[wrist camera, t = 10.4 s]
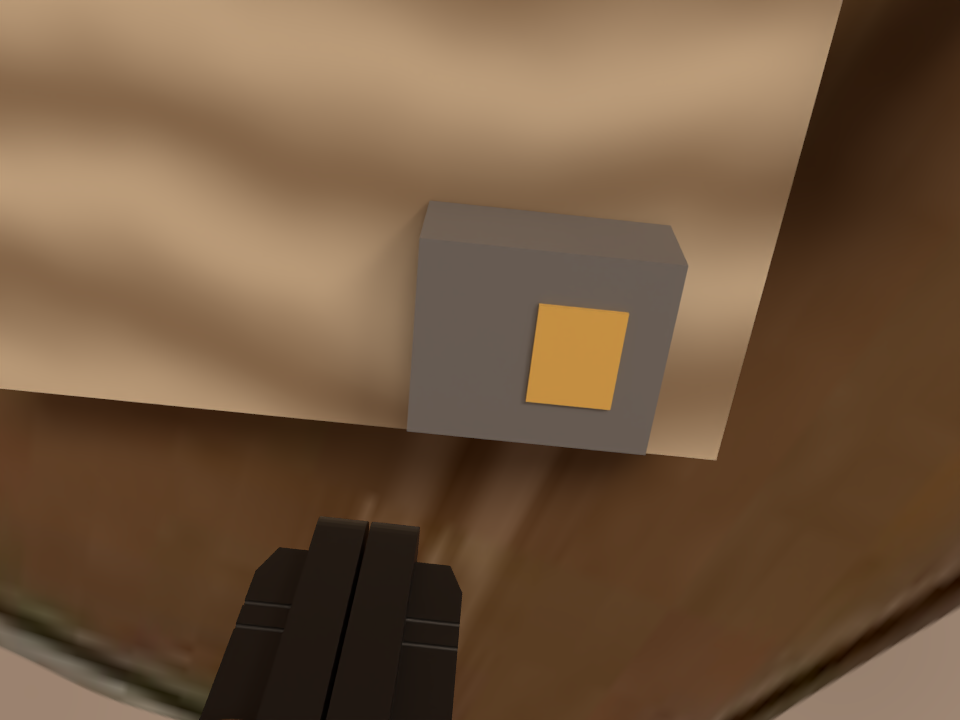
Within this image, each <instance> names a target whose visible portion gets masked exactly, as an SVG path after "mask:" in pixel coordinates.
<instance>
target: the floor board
mask: <svg viewBox="0 0 960 720" xmlns="http://www.w3.org/2000/svg"><path fill="white" fill-rule="evenodd" d="M842 1H843V0H0V389H10V390H20V391H30V392H40V393H50V394H60V395H70V396H80V397H90V398H100V399H110V400H120V401H130V402H140V403H150V404H160V405H170V406H180V407H190V408H200V409H210V410H220V411H230V412H240V413H250V414H260V415H270V416H280V417H290V418H300V419H310V420H320V421H330V422H340V423H350V424H360V425H370V426H380V427H390V428H400V429H407V420H408V405H409V389H410V374H411V359H412V344H413V329H414V314H415V298H416V283H417V268H418V253H419V238H420V234H421V230H422V227H423V223H424V219H425V216H426V212H427V208H428V205H429V201H439V202H449V203H459V204H468V205H478V206H487V207H497V208H507V209H516V210H526V211H536V212H545V213H555V214H564V215H574V216H584V217H593V218H603V219H613V220H622V221H632V222H642V223H651V224H661V225H670V226H671V227H672V230H673V232H674V234H675V236H676V239H677V241H678V243H679V245H680V248H681V250H682V252H683V254H684V257H685V259H686V261H687V263H688V270H687V275H686V279H685V283H684V288H683V292H682V297H681V301H680V305H679V310H678V314H677V319H676V323H675V327H674V332H673V336H672V341H671V345H670V349H669V354H668V358H667V363H666V367H665V371H664V376H663V380H662V385H661V389H660V393H659V398H658V402H657V407H656V411H655V415H654V420H653V424H652V429H651V433H650V437H649V442H648V446H647V451H646V453H649V454H659V455H669V456H679V457H689V458H699V459H709V460H716V459H717V455H718V451H719V448H720V444H721V440H722V437H723V433H724V429H725V426H726V422H727V419H728V415H729V411H730V408H731V404H732V400H733V397H734V393H735V390H736V386H737V382H738V379H739V375H740V371H741V368H742V364H743V361H744V357H745V353H746V350H747V346H748V342H749V339H750V335H751V332H752V328H753V324H754V321H755V317H756V313H757V310H758V306H759V302H760V299H761V295H762V292H763V288H764V284H765V281H766V277H767V273H768V270H769V266H770V263H771V259H772V255H773V252H774V248H775V244H776V241H777V237H778V234H779V230H780V226H781V223H782V219H783V215H784V212H785V208H786V205H787V201H788V197H789V194H790V190H791V186H792V183H793V179H794V175H795V172H796V168H797V165H798V161H799V157H800V154H801V150H802V146H803V143H804V139H805V136H806V132H807V128H808V125H809V121H810V117H811V114H812V110H813V107H814V103H815V99H816V96H817V92H818V88H819V85H820V81H821V78H822V74H823V70H824V67H825V63H826V59H827V56H828V52H829V48H830V45H831V41H832V38H833V34H834V30H835V27H836V23H837V19H838V16H839V12H840V9H841V5H842Z"/></svg>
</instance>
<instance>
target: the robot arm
mask: <svg viewBox="0 0 960 720" xmlns="http://www.w3.org/2000/svg"><path fill="white" fill-rule="evenodd" d="M419 533H420V527H415V526H406V525H397V524H388V523H379V522H372V523H371V526H370V530H369V522H368V521H359V520H350V519H341V518H332V517H322V516H321V517H320V518H319V520H318V522H317V525H316V528H315V531H314V534H313V538H312V541H311V544H310V547H309V551H308V550H299V549H290V548H281V547H279V548H278V549H277V550H276V551H275V552H274V553H273V554H272V555H271V556H270V557H269V558H268V559H267V560H266V561H265V562H264V563H263V564H262V565H261V566H260V567H259V568H258V569H257V570H256V571H255V574H254V577H253V579H252V582H251V585H250V587H249V590H248V593H247V595H246V598H245V603H244V605H243V606H242V609H241V611H240V614H239V617H238V619H237V622H236V628H235V629H234V630H233V632H232V635H231V638H230V640H229V643H228V646H227V648H226V651H225V654H224V656H223V659H222V662H221V664H220V667H219V670H218V672H217V675H216V678H215V680H214V683H213V686H212V688H211V691H210V693H209V696H208V699H207V701H206V704H205V707H204V709H203V712H202V715H201V717H200V719H199V720H452V709H453V697H454V685H455V673H456V661H457V648H458V637H459V624H460V613H461V601H462V592H461V589H460V587H459V585H458V582H457V580H456V578H455V576H454V573H453V571H452V569H451V566H446V565H437V564H428V563H419V562H417V555H418V544H419Z"/></svg>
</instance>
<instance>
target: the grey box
mask: <svg viewBox="0 0 960 720" xmlns="http://www.w3.org/2000/svg"><path fill="white" fill-rule="evenodd" d="M687 270H688V263H687V261H686V259H685V257H684V254H683V252H682V250H681V248H680V245H679V243H678V241H677V239H676V236H675V234H674V232H673V230H672V227H671V226H670V225H661V224H651V223H642V222H632V221H622V220H613V219H603V218H593V217H584V216H574V215H564V214H555V213H545V212H536V211H526V210H516V209H507V208H497V207H487V206H478V205H468V204H459V203H449V202H439V201H429V205H428V208H427V212H426V216H425V219H424V223H423V227H422V230H421V234H420V238H419V253H418V268H417V283H416V298H415V314H414V329H413V344H412V359H411V374H410V389H409V405H408V420H407V431H408V432H418V433H428V434H438V435H448V436H458V437H468V438H478V439H488V440H498V441H508V442H518V443H528V444H538V445H548V446H558V447H568V448H578V449H588V450H598V451H608V452H618V453H628V454H638V455H646V451H647V446H648V442H649V437H650V433H651V429H652V424H653V420H654V415H655V411H656V407H657V402H658V398H659V393H660V389H661V385H662V380H663V376H664V371H665V367H666V363H667V358H668V354H669V349H670V345H671V341H672V336H673V332H674V327H675V323H676V319H677V314H678V310H679V305H680V301H681V297H682V292H683V288H684V283H685V279H686V275H687Z"/></svg>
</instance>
